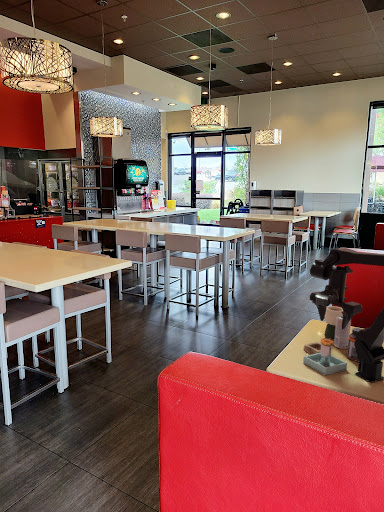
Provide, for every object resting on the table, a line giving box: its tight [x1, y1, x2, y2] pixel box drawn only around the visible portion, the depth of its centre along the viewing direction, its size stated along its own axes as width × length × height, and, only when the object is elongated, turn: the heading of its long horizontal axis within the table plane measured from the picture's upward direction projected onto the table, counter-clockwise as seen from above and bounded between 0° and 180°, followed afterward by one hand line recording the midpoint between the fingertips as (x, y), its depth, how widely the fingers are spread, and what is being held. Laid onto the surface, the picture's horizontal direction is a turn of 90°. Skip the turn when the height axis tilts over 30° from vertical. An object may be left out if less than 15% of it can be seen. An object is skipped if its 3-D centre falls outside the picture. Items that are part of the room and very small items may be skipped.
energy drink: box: [333, 316, 352, 350], centre depth 151 cm, size 5×5×12 cm
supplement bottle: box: [346, 327, 363, 362], centre depth 140 cm, size 6×6×11 cm
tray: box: [302, 353, 348, 376], centre depth 133 cm, size 10×10×2 cm
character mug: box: [323, 305, 343, 340], centre depth 159 cm, size 11×7×13 cm, turn 67°
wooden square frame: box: [303, 341, 321, 355], centre depth 145 cm, size 7×7×2 cm
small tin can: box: [319, 337, 334, 367], centre depth 133 cm, size 4×4×9 cm
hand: (332, 324), depth 138 cm, fingers open, 9 cm apart
